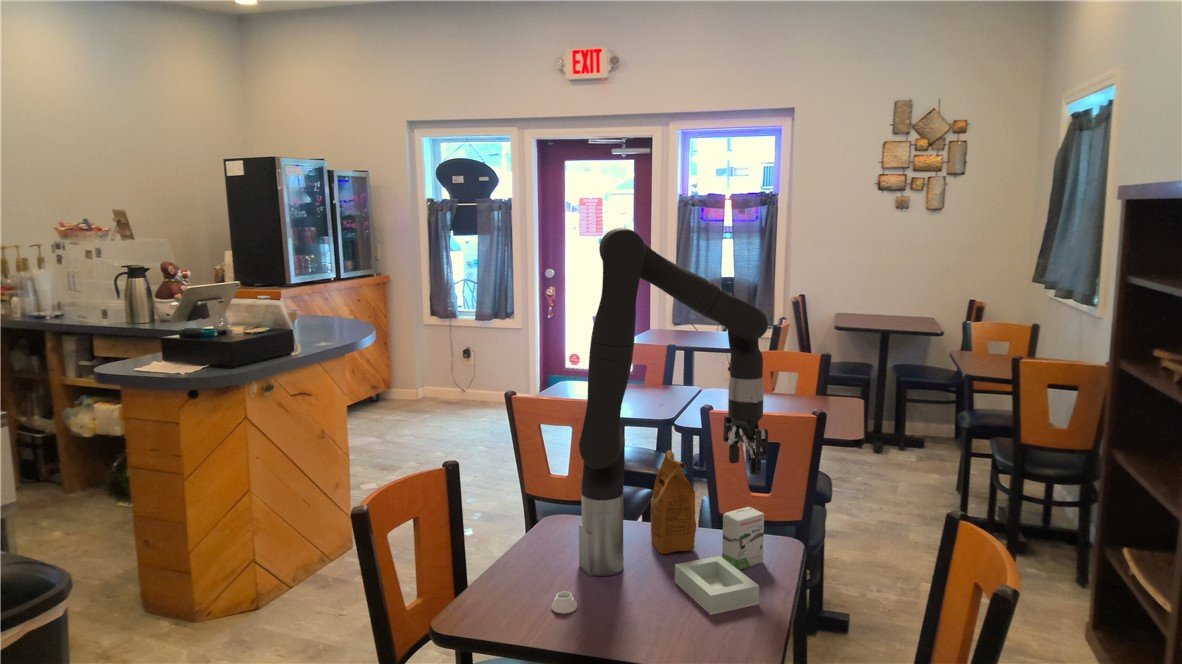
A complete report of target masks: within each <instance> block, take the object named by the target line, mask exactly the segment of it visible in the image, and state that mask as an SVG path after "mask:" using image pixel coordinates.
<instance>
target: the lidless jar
mask: <svg viewBox="0 0 1182 664" xmlns="http://www.w3.org/2000/svg"><path fill="white" fill-rule="evenodd" d="M551 609H552V611H553V612H554V613H558V614H570V613H573V612H574V611H576V610H577V609H578V603H577V601H576V600H575V598H574V596H573V595H572V593H571V592H570V591H559V592H557V593H556V595H555V597H554V600H552V603H551Z"/></svg>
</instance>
